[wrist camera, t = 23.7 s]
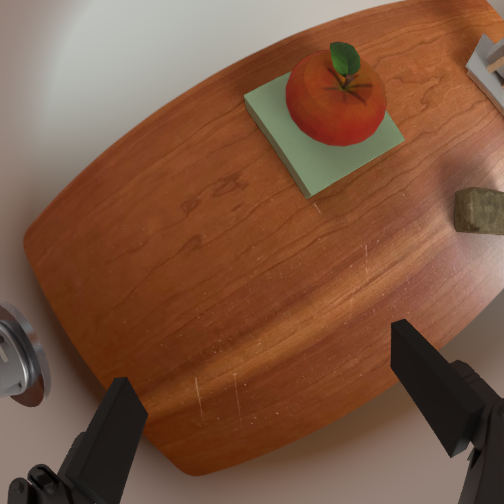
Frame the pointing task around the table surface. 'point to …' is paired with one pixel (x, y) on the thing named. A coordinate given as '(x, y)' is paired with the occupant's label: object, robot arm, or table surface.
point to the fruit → (336, 96)
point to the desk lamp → (489, 70)
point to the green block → (312, 141)
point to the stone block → (479, 211)
